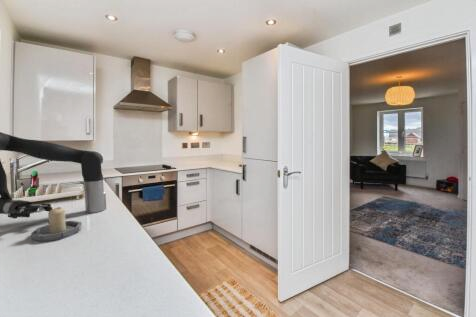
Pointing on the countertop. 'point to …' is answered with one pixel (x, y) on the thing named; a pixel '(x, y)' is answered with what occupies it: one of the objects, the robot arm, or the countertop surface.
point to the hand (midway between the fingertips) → (40, 211)
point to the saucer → (45, 234)
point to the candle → (57, 220)
